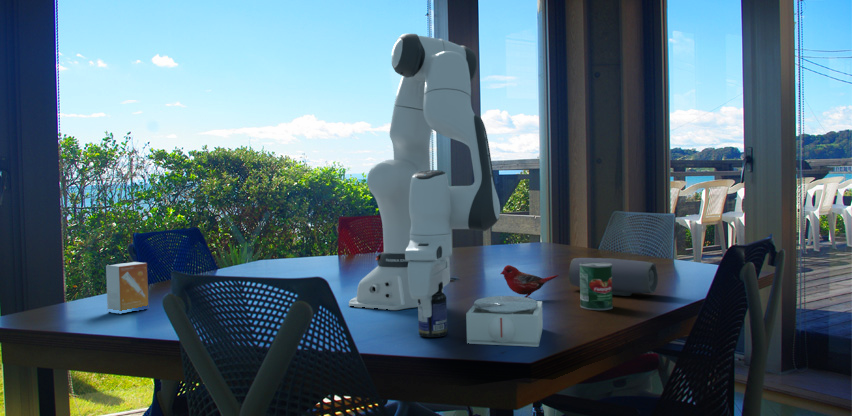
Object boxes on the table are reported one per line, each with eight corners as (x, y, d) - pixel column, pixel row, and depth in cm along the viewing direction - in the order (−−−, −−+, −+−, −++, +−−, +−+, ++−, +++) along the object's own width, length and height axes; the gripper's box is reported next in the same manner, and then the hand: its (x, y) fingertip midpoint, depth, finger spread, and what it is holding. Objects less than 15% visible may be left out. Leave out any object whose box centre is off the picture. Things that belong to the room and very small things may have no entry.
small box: (120, 315, 146) (118, 266, 146) (107, 313, 149) (104, 265, 149) (149, 309, 153) (147, 262, 153) (136, 307, 156) (133, 261, 156)
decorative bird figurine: (498, 301, 150) (497, 265, 150) (556, 296, 155) (555, 260, 155) (503, 303, 147) (502, 266, 147) (561, 298, 153) (561, 262, 152)
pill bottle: (448, 330, 120) (447, 280, 120) (446, 338, 114) (445, 285, 114) (420, 330, 121) (419, 280, 120) (416, 338, 115) (415, 285, 114)
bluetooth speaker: (567, 292, 161) (567, 258, 161) (581, 287, 168) (580, 254, 168) (647, 300, 146) (647, 263, 146) (659, 295, 153) (658, 259, 153)
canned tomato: (590, 302, 146) (589, 261, 145) (618, 306, 140) (617, 263, 140) (574, 307, 140) (573, 264, 140) (602, 312, 135) (601, 267, 134)
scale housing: (466, 344, 110) (465, 314, 109) (478, 326, 124) (478, 299, 124) (538, 347, 106) (537, 316, 106) (542, 328, 120) (542, 301, 120)
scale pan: (469, 326, 111) (469, 307, 110) (480, 312, 123) (479, 295, 123) (535, 329, 107) (535, 309, 107) (539, 314, 120) (539, 296, 120)
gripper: (429, 242, 128) (430, 301, 128) (401, 252, 108) (403, 323, 108) (456, 242, 126) (457, 302, 126) (433, 253, 106) (435, 324, 107)
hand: (432, 312), depth 117 cm, fingers closed on pill bottle, 6 cm apart
